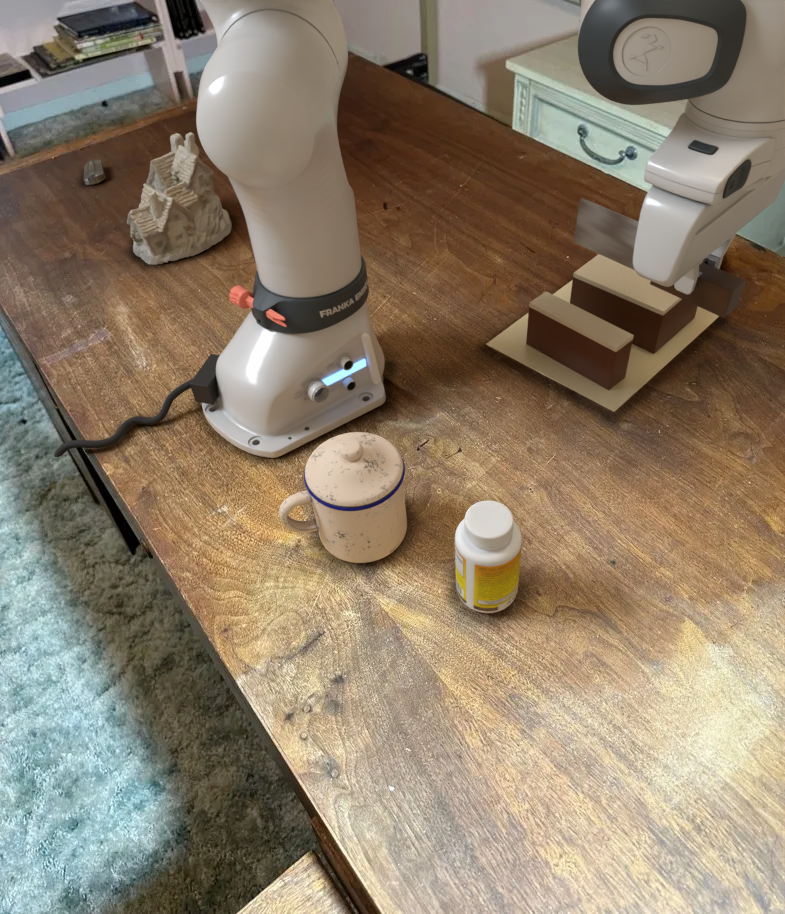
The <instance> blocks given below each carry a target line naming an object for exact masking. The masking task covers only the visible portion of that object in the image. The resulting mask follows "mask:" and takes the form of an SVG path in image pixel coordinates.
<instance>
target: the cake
mask: <svg viewBox="0 0 785 914" xmlns="http://www.w3.org/2000/svg"><path fill="white" fill-rule="evenodd" d="M572 280H573V281H572ZM572 280H571V281H572V289H571V297H570V303H571V304H573V305H575V306H577V307H579V308H581V309H583V310H585V311H587V312H589V313H591V314H593V315H595V316H596V317H598V318H600V319H602V320H604V321H606V322H608V323H610V324H612V325H614V326H616V327H618V328H620V329H622V330H624V331H626V332H628V333H630V334H632V335H634V337H633V341H632V344H634V345H636V346H638V347H640V348H642V349H644V350H647V351H649V352H651V353H653V354H654V353H656V352H657V351H658V350H659V349H660V348H661V347H662V346H663V345H665V344H666V343H667V342H668V341H669V340H670V339H671V338H672V337H674V336H675V335H676V334H677V333H678V332H679V331H680V330H682V329H683V328H684V327H685V326H686V325H687V324H688V323H689V322H691V321H692V320H693V319H694V318H695V315H696V311H697V307H698V306H696V305H694V304H692V303H690V302H687V301H685V300H683V299H681V298H679V297H677V296H674V295H672V294H670V293H668V292H666V291H663V290H661V289H659V288H657V287H655V286H653V285H650V282H651V281H650V280H647V279H645V278H643V277H641V276H639V275H638V274H637V273H636V272H635V270H633V269H631V268H629V267H626V266H624V265H622V264H620V263H618V262H615V261H613V260H611V259H609V258H607V257H604V256H602V255H600V254H598V253H597V255H596V256H594V257H593V258H592V259H590V260H589V261H587V262H586V263H585V264H583V265H582V266H581V267H579V268H578V269H577V270H575V271H574V272H573V274H572Z"/></svg>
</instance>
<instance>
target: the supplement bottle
mask: <svg viewBox="0 0 785 914" xmlns="http://www.w3.org/2000/svg"><path fill="white" fill-rule="evenodd" d="M522 535H523V534H522V531H521V529H520V527H519V525H518V524H517V523H516V521H515V520H514V515H513V512H512V511H511V509H510V508H509V507H508V506H506V505H505V504H503V503H502V502H500V501H496V500H489V499H488V500H487V499H486V500H482V501H477V502H475V503H473V504H472V505H470V507H468V509H467V510H466V512H465V515H464V518H463V519H462V520H461V521H460V522H459V524H458V525H457V527H456V530H455V532H454V559H455V560H454V563H455V589H456V594H457V596H458V598H459V599H460V601H461V602H462V603H463V604H464V605H465V606H466V607H467V608H469V609H471V610H472V611H475V612H478V613H483V614H494V613H498V612H502V611H503V610H505V609H507V608H508V607H509V606H510V605H512V603H513V602H514V600H515V599H516V597H517V594H518V590H519V579H520V570H521V569H520V568H521V556H522V546H523V545H522V544H523V536H522Z"/></svg>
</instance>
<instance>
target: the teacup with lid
mask: <svg viewBox="0 0 785 914" xmlns="http://www.w3.org/2000/svg"><path fill="white" fill-rule="evenodd" d="M405 474H406V465H405V461H404V457H403V455H402V454H401V452H400V451H399V450H398V447H396V445H394V444H393V443H392V442H391V441H390V440H388V439H387V438H385V437H383V436H381V435H378V434H375V433H370V432H366V431H365V432H364V431H353V432H345V433H342V434H338V435H335V436H333V437H330V438H328V439H326V440H325V441H323V442H321V444H319V445H318V446H316V448H315V449H314V451H313V452H311V454H310V456H309V457H308V459H307V461H306V464H305V467H304V473H303V480H304V485H305V488H306V490H302V491H299V492H296V493H293V494H290V495H289V496H287V497H286V498H285V499H284V500H283V501H282V502H281V504H280V506H279V509H278V514H279V518H280V521H281V523H282V524H283V526H284V527H285V528H286V529H288V530H289V531H291V532H293V533H299V534H308V533H313V532H316V531H318V534H319V539H320V542H321V543H322V545H323V547H324V548H325V549H326V550H327V552H328V553H330V554H331V555H332V556H334V557H335V558H337V559H339V560H341V561H345V562H348V563H354V564H367V563H372V562H376V561H379V560H381V559H383V558H386V557H387V556H389V555H391V554H392V553H393V552H394V551H396V549H398V547H399V546H400V545H401V543H402V542H403V541H404V539H405V537H406V534H407V530H408V529H407V528H408V519H407V518H408V517H407V508H406V507H407V506H406V496H405V483H404V478H405ZM309 503H311V504H312V509H313V512H314V518H311V519H307V520H297V519H294V518H293V517H290V516H289V514H290V513H291V511H292V510H294V509H295V508H297V507H299V506H302V505H305V504H309Z"/></svg>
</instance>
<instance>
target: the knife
mask: <svg viewBox="0 0 785 914" xmlns="http://www.w3.org/2000/svg"><path fill="white" fill-rule="evenodd" d="M577 208H578V209H577V215H576V222H575V229H574V235H573V244H575V245H578V246H580V247H583V248H585V249H587V250H589V251H591V252H594V253H595V254H597V255H598V254H600V255H602V256H604V257H607V258H609V259H611V260H613V261H615V262H618V263H620V264H622V265H624V266H626V267H629V268H631V269H633V270H635V269H634V267H633V252H634V245H635V239H636V233H637V228H638V222H639V220H636V219H634V218H631V217H629V216H626V215H624V214H623V213H622V214H621V213H619V212H617V211H615V210H612V209H609V208H608V207H605V206H603V205H600V204H598V203H595V202H594V201H593V202H592V201H590V200H588V199H585V198H584V197H580V198H579V202H578V207H577ZM699 271H700V272H702V273H703V274H702V277H701V280H700V283H699V286H698V287H697V288H696V289H695V290H694V291H693V292H691V293H690V294H685V293H682V292H680V291H678V290H676V289H675V287H674V284H673V285H672V286H670V287H665V286H662V285H659V284H657V283H655V282H652V281H651V282H650V285H653V286H655V287H657V288H659V289H661V290H663V291H666V292H668V293H670V294H672V295H674V296H677V297H679V298H681V299H683V300H685V301H687V302H690V303H692V304H694V305H696V306H698V307H700V308H703V309H705V310H707V311H709V312H711V313H713V314H716V315H718V316H719V317H720V318H722V319H725V318H726V317H727V316H728V315H729V314H731V313H732V312H733V311H734V310H736V309H737V308H738V305H739V302H740V300H741V297H742V294H743V291H744V288H745V285H746V284H747V280H746V279H744V278H741V277H739V276H736V275H735V274H732V273H730V272H727V271H725V270H722V269H721V268H720V269H718V268H715V267H713V266H711V265H708V264H706V263H704V262H702V263H701V264H699Z"/></svg>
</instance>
